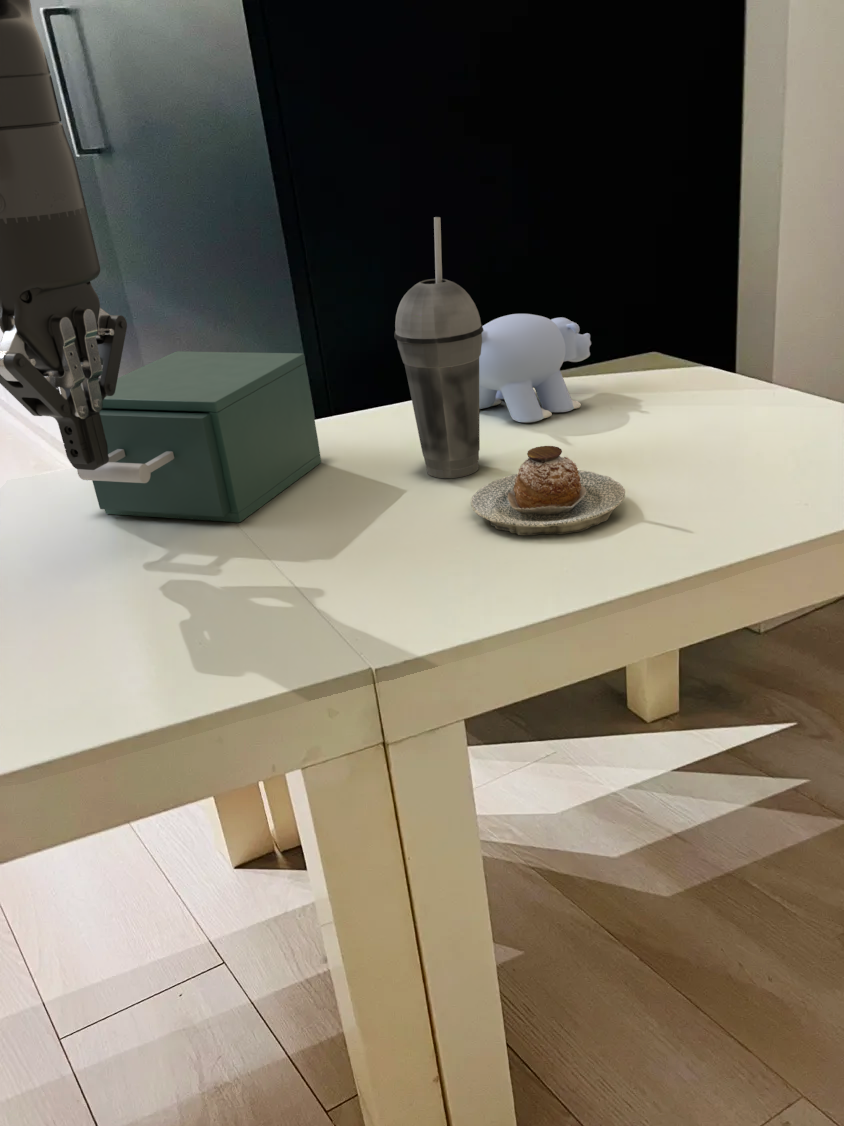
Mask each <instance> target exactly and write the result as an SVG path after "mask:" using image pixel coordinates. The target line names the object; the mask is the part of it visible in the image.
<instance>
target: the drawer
mask: <svg viewBox="0 0 844 1126" xmlns="http://www.w3.org/2000/svg"><path fill="white" fill-rule="evenodd" d="M100 417H101V421H102V425H103V429H104V433H105V437H106V438H105V439H106V441H107V445H108V456H109V461H108V463H106V464H105V465H103V466H101V467H99V468H97V469H95V470H83V469H76V470H77V475H78V477H79V478H80V479H81V480H82V481H91V482H92V485H93V489H94V493H95V496H96V499H97V503H98V506H99V510H104V509H105V510H121V511H137V512H153V513H170V514H186V515H202V516H218V517H224V516H225V515H227V514H228V513H230V512H231V509H230V504H229V499H228V494H227V490H226V485H225V480H224V475H223V471H222V466H221V461H220V456H219V452H218V447H217V442H216V437H215V433H214V428H213V423H212V418H211V414H209V412H199V411H168V410H138V409H108V408H102V410H101V411H100ZM105 510H104V511H105Z"/></svg>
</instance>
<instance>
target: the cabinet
mask: <svg viewBox="0 0 844 1126" xmlns="http://www.w3.org/2000/svg"><path fill="white" fill-rule="evenodd" d="M102 408H108V409H138V410H168V411H199V412H209V414H211V418H212V423H213V428H214V433H215V437H216V442H217V447H218V452H219V456H220V461H221V466H222V471H223V475H224V480H225V485H226V490H227V494H228V499H229V504H230V509H231V512H230V513H228V514H227V515H225V516H224V517H218V516H202V515H186V514H170V513H153V512H137V511H121V510H105V509H103V510H104V513H105V514H106V515H118V516H119V515H120V516H134V517H150V518H167V519H183V520H195V521H196V520H199V521H214V522H215V521H216V522H230V523H241V522H243V521H244V520H245V519H247V518H248V517H250V516H251V515H252V514H254V513H255V512H256V511H258V510H259V509H260V508H262V507H263V506H265V505H266V504H267V503H268V502H270V501H271V500H273V499H274V498H275V497H276V496H278V495H279V494H281V493H282V492H283V491H285V490H286V489H287V488H288V487H291V486H292V485H293V484H294V483H296V482H297V481H298V480H299V479H301V478H302V477H304V476H305V475H306V474H307V473H309V472H310V471H311V470H313V469H314V468H316V467H317V466H318V465H320V464H322V456H321V449H320V443H319V438H318V432H317V426H316V420H315V413H314V407H313V400H312V394H311V389H310V384H309V377H308V369H307V365H306V359H305V354H304V353H301V352H299V353H297V352H295V353H294V352H238V351H236V352H235V351H233V352H231V351H230V352H229V351H175V352H172V353H170V354H168V355H166V356H163V357H162V358H158V359H157V360H155V361H152V362H149V363H148V364H145V365H143V366H141V367H139V368H137V369H134V370H133V371H130V372H128V373H126V374H123V375H121V376H118V379H117V384H116V390H115V393H114V395H113V396H106V397H105V398H104V400H103V407H102Z"/></svg>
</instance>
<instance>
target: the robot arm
mask: <svg viewBox="0 0 844 1126" xmlns="http://www.w3.org/2000/svg"><path fill="white" fill-rule="evenodd" d="M64 128H65V127H64V124H63V123H62V115H61V112H60V108H59V103H58V99H57V95H56V90H55V86H54V83H53V78H52V75H51V70H50V66H49V62H48V58H47V55H46V52H45V49H44V45H43V43H42V40H41V37H40V35H39V33H38V29H37V27H36V23H35V21H34V16H33V11H32V4H31V0H0V330H1V332H2V333H3V335H2V338H1V340H0V385H1V386H2V387H3V388H4V389H5V390H6V391H7V392H8V393H9V394H10V395H11V396H12V397H13V398H14V399H15V400H17V401H18V403H19V404H21V406H23V408H25V409H26V410H27V411H28V412H29V413H30V415H32V416H33V417H49V418H50V417H51V418H53V419H55V421H56V422H57V425H58V429H59V432H60V436H61V440H62V443H63V448H64V451H65V455H66V459H67V460H68V461H69V463H70V464H71V466H72V467H73V468H74V469H76V470H77V469H83V470H95V469H97V468H99V467H101V466H103V465H105V464H106V463H108V461H109V456H108V445H107V441H106V439H105V438H106V437H105V433H104V429H103V425H102V421H101V417H100V411H101V410H102V407H103V400H104V398H105V397H106V396H113V395H114V393H115V390H116V384H117V379H118V378H119V373H120V369H121V368H120V366H121V363H122V358H123V357H122V356H123V351H124V345H125V341H126V335H127V329H128V322H127V319H126V318H125V316H123V315H122V314H121V315H120V314H119V315H114V314H110V313H108V312H107V311H106V310H104V309H103V308H102V307H101V303H100V302H101V301H100V299H99V296H98V293H97V292H96V290H95V289H94V287H93V285H92V281H94V280H96V279H97V278H98V277H99V275H100V273H101V265H100V260H99V256H98V252H97V248H96V244H95V243H96V242H95V240H94V239H95V238H94V235H93V231H92V226H91V222H90V218H89V214H88V210H87V204H86V201H85V197H84V192H83V189H82V183H81V180H80V179H81V178H80V175H79V171H78V167H77V163H76V160H75V156H74V154H73V151H72V147H71V146H70V143H69V141H68V137H67V135H66V132H65V129H64Z"/></svg>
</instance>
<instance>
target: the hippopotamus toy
mask: <svg viewBox="0 0 844 1126" xmlns="http://www.w3.org/2000/svg"><path fill="white" fill-rule="evenodd" d="M482 327H483V332H482V346H481V355H480V356H479V410H481V409H488V408H491V407H495V406H497V405H500V404H502V400H504V402H505V405H506V407H507V410H508V412H509V415H510V417H511V419H512V420H513V421H515V422H519V423H536V422H540V421H541V420H543V419H546V418H550V417H552V415H553V414H552V413H567V412H570V411H572V410H575V409H579V408H581V406H582V405H581V403H580V401H577V400H573V399H572V398H571V397H572V396H571V395H570V393H569V390H568V387H567V384H566V382H565V380H564V379H565V378H564V377H563V374H562V371H561V367H562V366H563V363H565V362H571V363H578V362H582V361H584V360H586V359H588V358H589V357H590V356H591V352H590V347H591V345H592V341H591V334H590V333H588V332H586V333H583V334H581V333H580V329H581V328H580V326H579V324H577V322H574V321H571V320H570V319H568V318H566V317H563V316H562V317H554V318H551V319H550V318H548V317H545V316H542V315H538V314H532V313H512V314H507V315H503V316H500V317H497V318H494V319H492V320H490V321H489V322H487V323H485V324H484V325H482ZM540 405H541V406H540Z"/></svg>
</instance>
